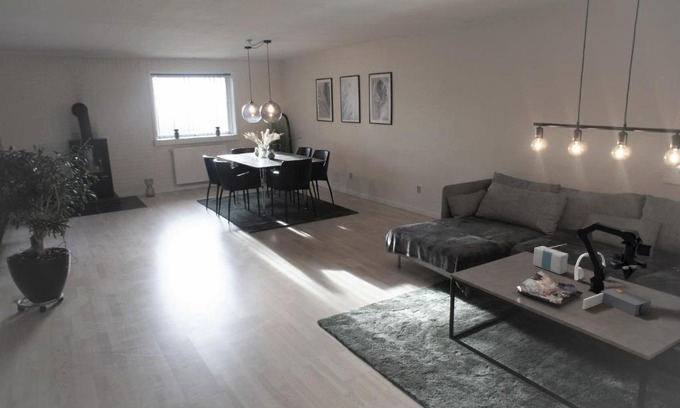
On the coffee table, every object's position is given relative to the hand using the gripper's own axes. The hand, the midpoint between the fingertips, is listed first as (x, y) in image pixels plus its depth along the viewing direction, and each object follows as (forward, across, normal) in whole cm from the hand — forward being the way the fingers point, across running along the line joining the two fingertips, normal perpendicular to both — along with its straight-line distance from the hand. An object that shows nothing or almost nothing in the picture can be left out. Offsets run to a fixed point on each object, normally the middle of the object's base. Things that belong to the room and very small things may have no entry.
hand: (626, 279), depth 257 cm
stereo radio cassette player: (+12, +18, -49) cm, 53 cm away
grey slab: (+12, +6, +8) cm, 16 cm away
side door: (+12, +22, +6) cm, 26 cm away
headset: (+12, +2, -30) cm, 33 cm away
